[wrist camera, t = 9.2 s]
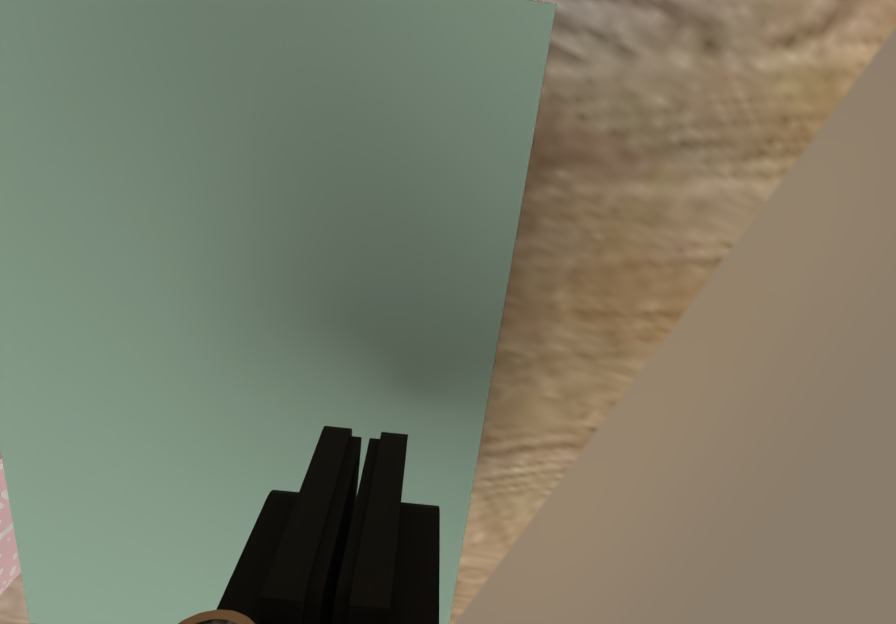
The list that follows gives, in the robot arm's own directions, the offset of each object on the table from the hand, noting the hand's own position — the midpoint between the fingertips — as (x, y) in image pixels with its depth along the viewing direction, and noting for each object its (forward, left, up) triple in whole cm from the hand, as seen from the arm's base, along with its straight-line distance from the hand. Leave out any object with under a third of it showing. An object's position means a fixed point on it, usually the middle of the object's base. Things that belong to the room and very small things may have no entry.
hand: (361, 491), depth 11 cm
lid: (+1, -4, -6) cm, 8 cm away
